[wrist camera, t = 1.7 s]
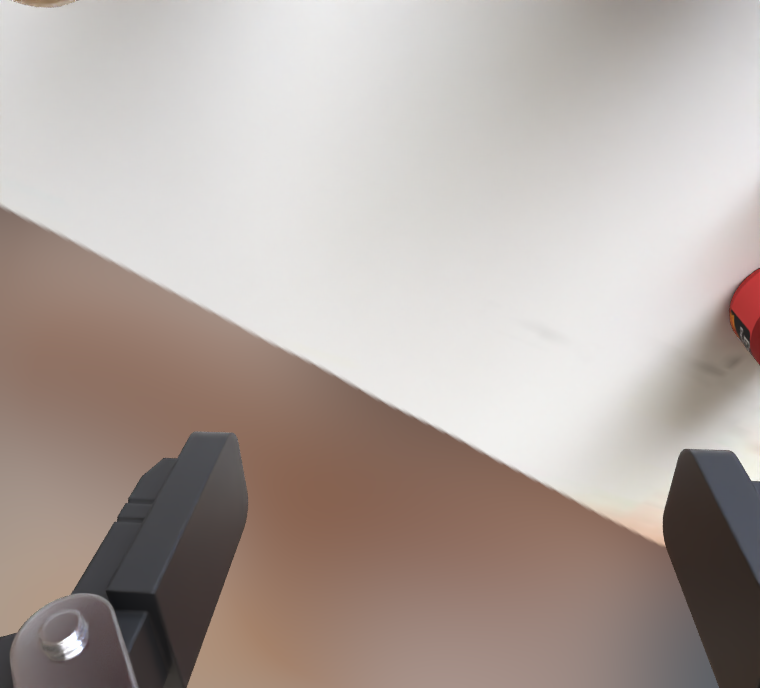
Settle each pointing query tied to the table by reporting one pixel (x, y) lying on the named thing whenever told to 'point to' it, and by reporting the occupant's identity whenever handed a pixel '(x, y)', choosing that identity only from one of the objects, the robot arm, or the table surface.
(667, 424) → the table surface
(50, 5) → the lever
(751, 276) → the canned food
